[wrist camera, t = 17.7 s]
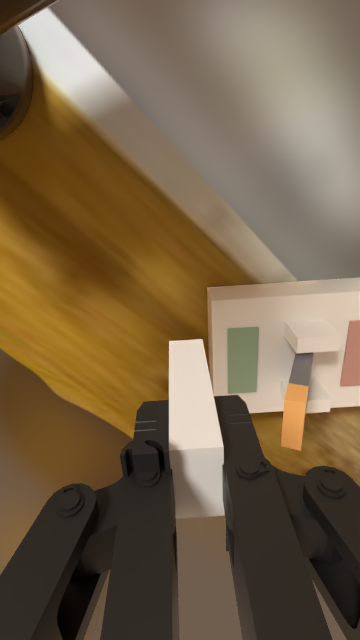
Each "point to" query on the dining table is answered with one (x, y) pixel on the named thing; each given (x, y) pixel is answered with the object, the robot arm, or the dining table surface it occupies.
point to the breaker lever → (296, 401)
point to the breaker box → (285, 341)
